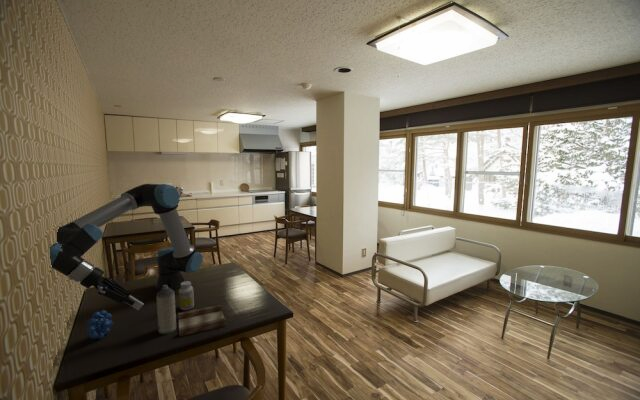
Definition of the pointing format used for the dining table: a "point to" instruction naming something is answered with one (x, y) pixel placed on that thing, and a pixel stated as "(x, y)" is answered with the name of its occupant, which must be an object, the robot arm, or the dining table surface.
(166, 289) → the aerosol can
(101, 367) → the dining table surface
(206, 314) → the cradle
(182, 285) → the supplement bottle
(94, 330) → the grapes
